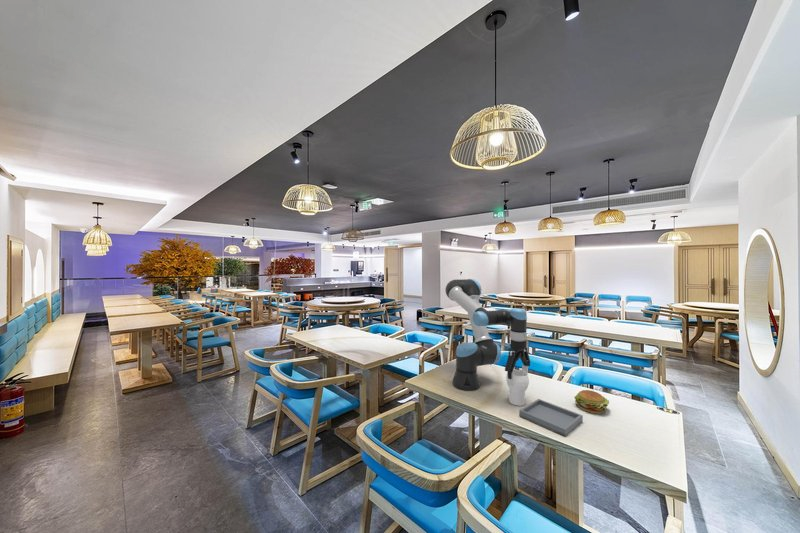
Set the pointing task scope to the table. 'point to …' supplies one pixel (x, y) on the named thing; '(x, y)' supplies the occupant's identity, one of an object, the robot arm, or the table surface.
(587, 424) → the table surface
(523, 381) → the cup
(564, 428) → the tray
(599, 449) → the table surface
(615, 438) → the table surface
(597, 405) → the food
